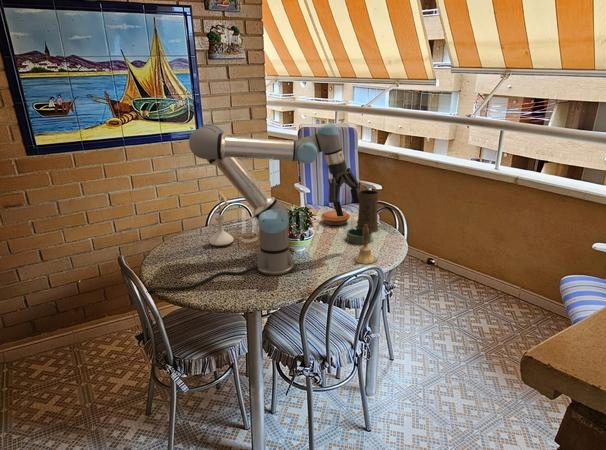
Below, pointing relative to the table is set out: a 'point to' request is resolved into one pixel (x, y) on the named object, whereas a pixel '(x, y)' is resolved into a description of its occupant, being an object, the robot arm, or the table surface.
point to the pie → (335, 218)
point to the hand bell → (365, 249)
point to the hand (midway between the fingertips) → (348, 209)
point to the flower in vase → (221, 228)
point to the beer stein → (368, 209)
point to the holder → (357, 236)
